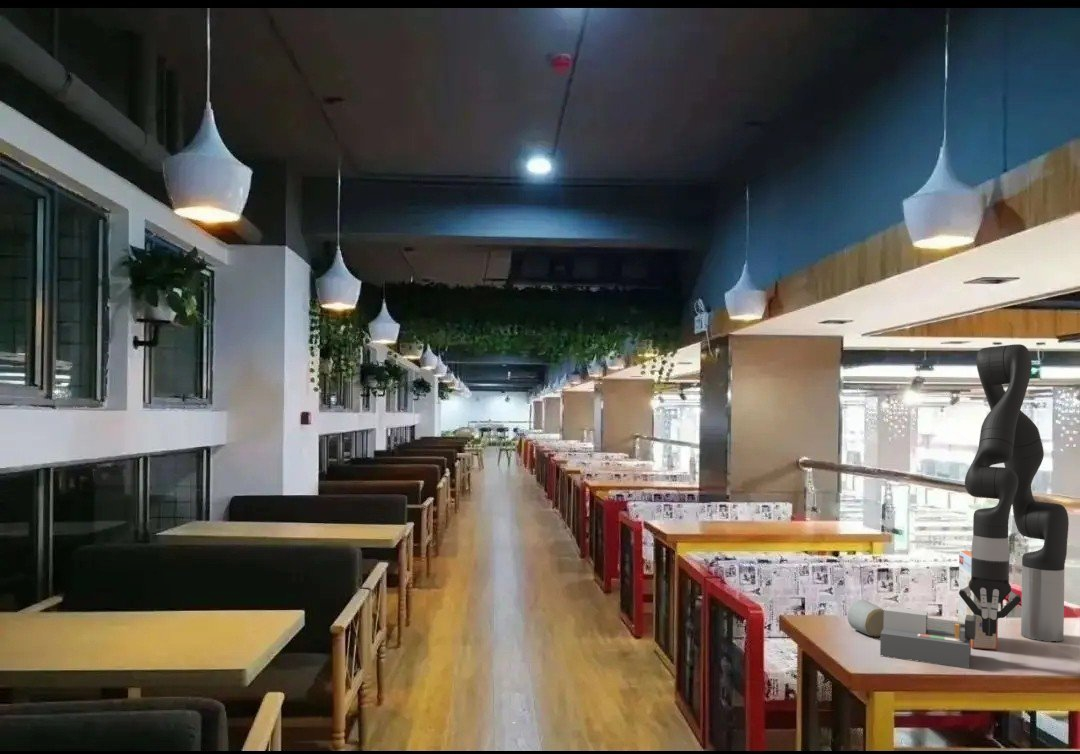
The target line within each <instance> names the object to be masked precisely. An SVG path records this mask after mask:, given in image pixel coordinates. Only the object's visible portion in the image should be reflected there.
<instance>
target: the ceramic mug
mask: <svg viewBox="0 0 1080 754" xmlns="http://www.w3.org/2000/svg"><path fill="white" fill-rule="evenodd" d="M847 622H848V624H849V625H850V627H851V628H852V629H853V630H856V631H858V632H860V633H862V634H865V635H867V636H870V637H873V636H874V638H879V636H880V637H881V632H882V630H883V626H884V609H883V608H882V607H879V606H878V605H876V604H874V603H872V602H870V601H868V600H865V599H857V600H855V601H854V602H852V603H851V605H850V606H849V608H848V610H847Z"/></svg>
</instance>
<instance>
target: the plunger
mask: <svg viewBox="0 0 1080 754" xmlns="http://www.w3.org/2000/svg"><path fill="white" fill-rule="evenodd" d="M955 624H959V633H960V640H964V641H965V639H973V640H975V635H976V616H973V615H966V618H965V622H959V621H958V620H949V619H940V618H934V617H933V618H932V617H928V618H926V628H928V629H936V630H944V631H952V632H955Z"/></svg>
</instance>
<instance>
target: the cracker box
mask: <svg viewBox="0 0 1080 754" xmlns="http://www.w3.org/2000/svg"><path fill="white" fill-rule="evenodd" d="M971 551H972V550H959V557H958V558H959V559H958V560H959V561H958V592H959V591H960V589H964V588H966V587H967V586H969V582H970V580H971V559H972V555H971ZM970 593H971V597H970V598H971V599H972V600H973V602H974V603H975V604H976V606H977V607H978V608H979V609H981V601H979V600H978V599H977V598H976V596H975V595H974V594H973V592H972V591H971V590H970ZM957 600H958V602H957V603H958V606H957V613H958V614H957V621H959V622H965V618H966V615H973V616H976V635H975V640H973V639H971V649H981V650H991V651H993V650H996V651H998V641H999V640H998V637H999V636H998V635H999V634H998V632H999V631H998V630H999V618H998V619H997V621H996V634H993V636H985V633H983V631H982V617H981V616H979V615H975V614H974V613H973V612H972V611H971V609H970V608H969V607H968V605H967V604H966V603H965V601H964V600H963V599H962V597H961V596H960V595H959V594H958V598H957ZM991 605H992V603H990V602H989V603H988V617H989V619H990V615H991ZM981 610H982V609H981ZM998 611H999V607H998V608H997V612H998Z"/></svg>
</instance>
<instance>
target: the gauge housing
mask: <svg viewBox="0 0 1080 754" xmlns="http://www.w3.org/2000/svg"><path fill="white" fill-rule="evenodd" d="M883 610H884V626H883V630H882V632H881V636H880V643H879V644H880V649H879V651H880V653H879V655H883V656H882V657H886V656H889V657H888V658H893V657H895V658H894V659H899V658H902V659H901V660H906V659H912V660H911V661H913V660H918V661H917V662H920V661H924V662H923V663H927V662H930V663H929V664H934V663H937V664H936V665H941V666H950V667H956V668H964V669H970V668H969V667H970V660H971V654H972V653H971V652H972V651H971V649H972V647H971V639H965V641H964V640H960V633H959V639H956V638H955V632H952V631H944V630H936V629H928V628H926V618H929V615H928V614H929V612H928V610H921V609H914V608H904V607H896V606H895V607H894V606H888V605H887V606H885V607H884V609H883Z"/></svg>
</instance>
